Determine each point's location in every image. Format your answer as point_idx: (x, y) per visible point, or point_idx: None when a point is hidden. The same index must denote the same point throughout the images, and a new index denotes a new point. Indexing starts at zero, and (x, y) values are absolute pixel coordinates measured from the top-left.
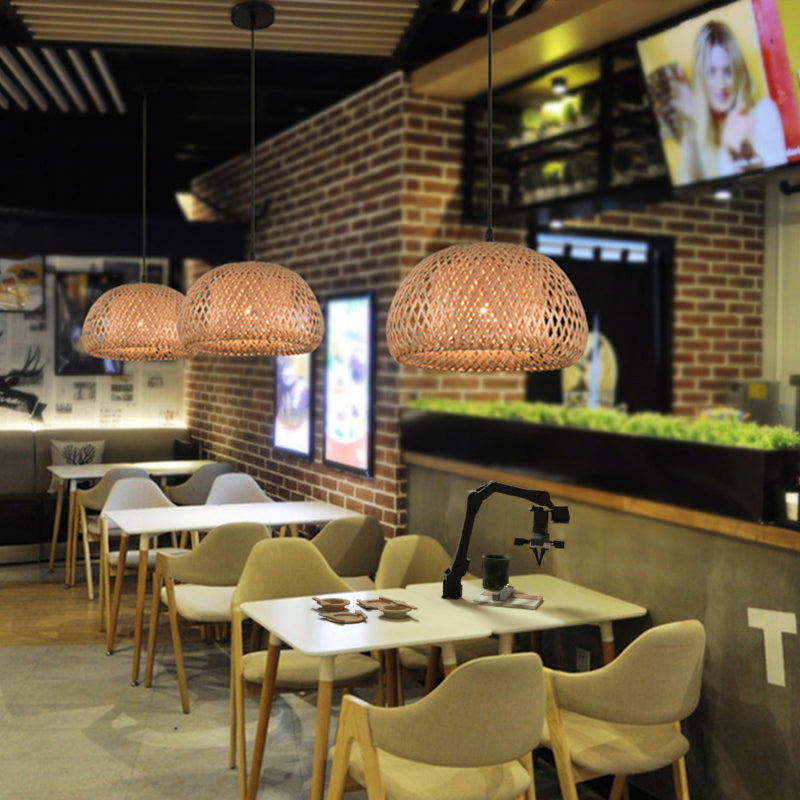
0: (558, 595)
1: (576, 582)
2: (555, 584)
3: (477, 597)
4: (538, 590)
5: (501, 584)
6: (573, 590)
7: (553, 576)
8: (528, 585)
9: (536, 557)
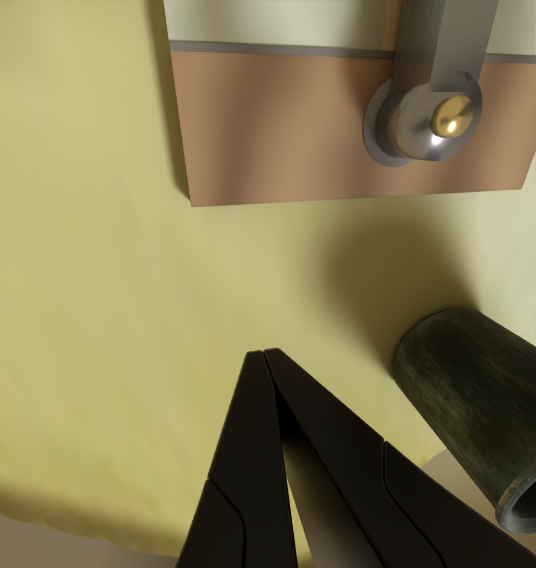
0: (151, 349)
1: (173, 548)
2: None
3: None
4: None
5: (436, 333)
6: (130, 461)
7: None
8: None
9: (361, 438)
